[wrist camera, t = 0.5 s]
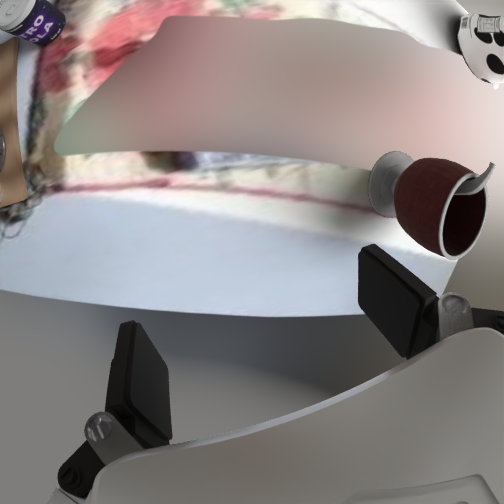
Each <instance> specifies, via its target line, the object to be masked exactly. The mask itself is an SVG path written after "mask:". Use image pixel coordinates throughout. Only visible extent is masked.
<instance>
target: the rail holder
mask: <svg viewBox="0 0 504 504" xmlns="http://www.w3.org/2000/svg"><path fill="white" fill-rule="evenodd" d="M5 156H6V143H5V138H4V135H3V132H2V130H1V129H0V173H1V171H2V168H3V165H4V162H5ZM1 201H3V196H2V191H1V186H0V202H1Z"/></svg>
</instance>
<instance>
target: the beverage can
mask: <svg viewBox="0 0 504 504" xmlns="http://www.w3.org/2000/svg"><path fill="white" fill-rule="evenodd" d="M64 25H65V16H64V14H63V13H62V12H61V11H59V10H58V9H57V8H56V7H54V6H53V5H52V4H51V3H50V2H48V1H47V0H6V1H5V2H4V3H3V4H2V6H1V7H0V29H1V30H3V31H5V32H8V33H10V34H13V35H15V36H18V37H20V38H22V39H25V40H27V41H30V42H32V43H34V44H36V45H46V44H48V43H50V42H52V41H53V40H54V39H56V38H57V37H58V35H59V34H60V33H61V31H62V30H63V28H64Z"/></svg>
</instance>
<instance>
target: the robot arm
mask: <svg viewBox="0 0 504 504" xmlns="http://www.w3.org/2000/svg"><path fill="white" fill-rule="evenodd" d="M436 294H437V293H436V292H435V291H433V290H432V289H431V288H430V287H429V286H427V285H426V284H425V283H424V282H423V281H421V280H420V279H419V278H418V277H417V276H415V275H414V274H413V273H412V272H410V271H409V270H408V269H407V268H405V267H404V266H403V265H402V264H400V263H399V262H398V261H397V260H395V259H394V258H393V257H391V256H390V255H389V254H388V253H386V252H385V251H384V250H382V249H381V248H380V247H378V246H377V245H376V244H371V245H368V246H365V247H363V248H362V249H361V252H359V254H358V304H359V306H360V308H361V309H362V310H363V311H364V313H365V314H366V315H367V316H368V317H369V319H370V320H371V321H372V322H373V323H374V324H375V326H376V327H377V328H378V329H379V330H380V332H381V333H382V334H383V335H384V336H385V338H386V339H387V340H388V341H389V342H390V343H391V345H392V346H393V347H394V348H395V350H396V351H397V352H398V353H399V355H400V356H401V357H406V358H407V361H405V362H403V363H402V364H400V365H398V366H396V367H394V368H393V369H391V370H389V371H387V372H385V373H383V374H381V375H379V376H377V377H375V378H373V379H372V380H369V381H367V382H365V383H363V384H361V385H359V386H357V387H355V388H352V389H350V390H348V391H346V392H344V393H342V394H339V395H337V396H335V397H332V398H330V399H328V400H325V401H323V402H320V403H318V404H315V405H313V406H310V407H308V408H305V409H302V410H299V411H297V412H294V413H291V414H288V415H286V416H282V417H279V418H276V419H273V420H270V421H267V422H264V423H260V424H258V425H254V426H250V427H247V428H243V429H240V430H236V431H232V432H228V433H224V434H220V435H216V436H211V437H207V438H202V439H198V440H193V441H188V442H183V443H178V444H172V445H170V444H169V440H171V439H172V425H171V414H170V413H171V412H170V398H169V376H168V375H169V374H168V368H167V365H166V363H165V362H164V360H163V359H162V357H161V356H160V354H159V353H158V352H157V350H156V348H155V347H154V345H153V343H152V342H151V340H150V339H149V337H148V335H147V334H146V332H145V330H144V329H143V327H142V325H141V324H140V323H136V322H135V321H133V320H132V321H129V322H125V323H121V324H120V328H119V332H118V338H117V343H116V349H115V355H114V359H113V360H112V362H111V368H110V375H109V381H108V389H107V397H106V405H105V412H98V413H95V414H94V415H92V416H91V417H90V418H89V419H88V421H87V423H86V425H85V429H84V433H85V437H86V439H87V440H86V441H85V442H84V444H82V445H81V447H80V448H78V449H77V450H76V452H75V453H74V454H73V455H72V456H71V457H70V458H69V459H68V460H67V461H66V462H65V463H64V464H63V465H62V466H61V467H60V469H59V472H58V483H59V485H60V487H59V489H58V488H55V490H54V491H53V493H52V496H51V498H50V500H49V502H48V504H504V312H503V311H497V310H496V311H495V310H487V309H478V308H471V306H470V303H469V301H468V300H467V299H466V298H465V297H464V296H463V295H460V294H458V293H447V294H444V295H442V296H441V297H440V299H439V298H438V297H437V296H436Z"/></svg>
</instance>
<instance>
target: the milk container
mask: <svg viewBox="0 0 504 504" xmlns="http://www.w3.org/2000/svg"><path fill="white" fill-rule="evenodd" d="M456 34H457V40H458V45H459V47H460V51H461V54H462V56H463V58H464V60H465V62H466V64H467V66H468V67H469V68H470V70H471V71H472V73H473V74H474V75H475V76H476V77H477V78H479V79H480V80H482V81H485V82H488V83H492V84H500V83H504V16H485V15H480V14H468V15H465V16H462V17H461V18H460V19H459V20H458V22H457V29H456Z"/></svg>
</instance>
